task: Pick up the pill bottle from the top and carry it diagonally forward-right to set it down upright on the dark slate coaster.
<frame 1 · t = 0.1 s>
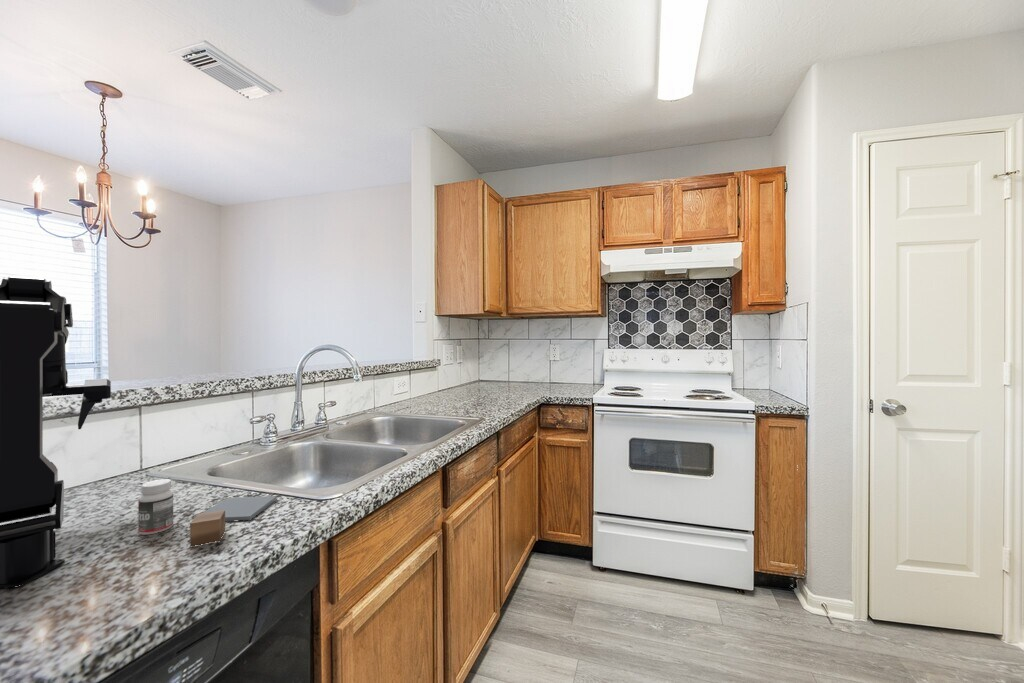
hand: (46, 432, 83), 15 cm above the counter, tool pointing down, fingers open, 9 cm apart
pill bottle: (156, 530, 73), on the counter
walnut block: (208, 540, 69), on the counter
coaster: (237, 510, 81), on the counter
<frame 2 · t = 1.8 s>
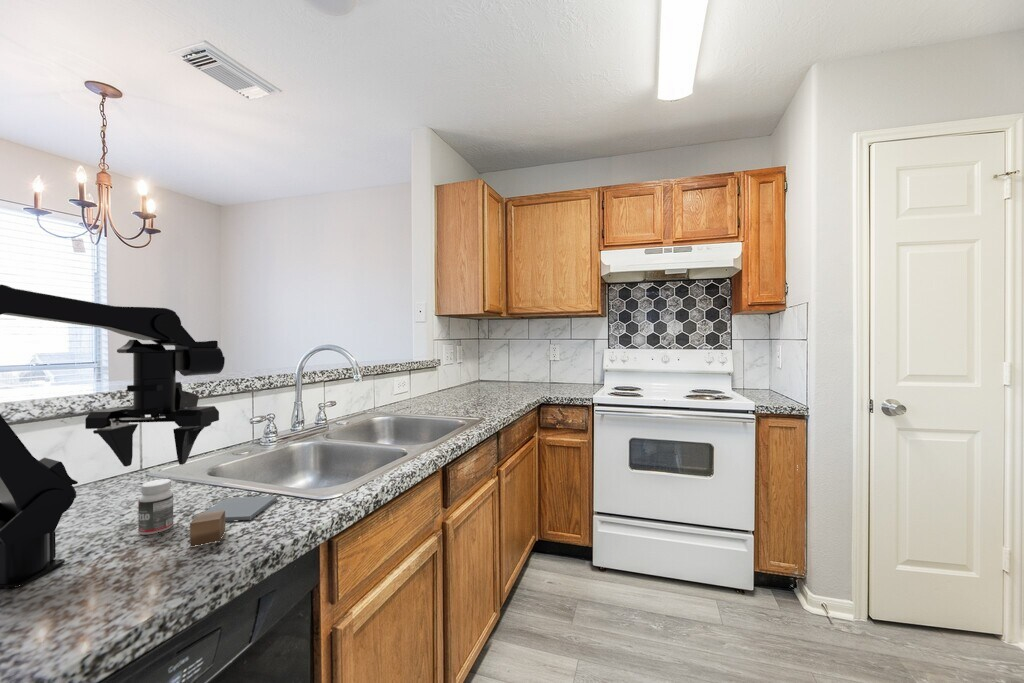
hand: (155, 465, 73), 11 cm above the counter, tool pointing down, fingers open, 9 cm apart
nothing on the counter moved.
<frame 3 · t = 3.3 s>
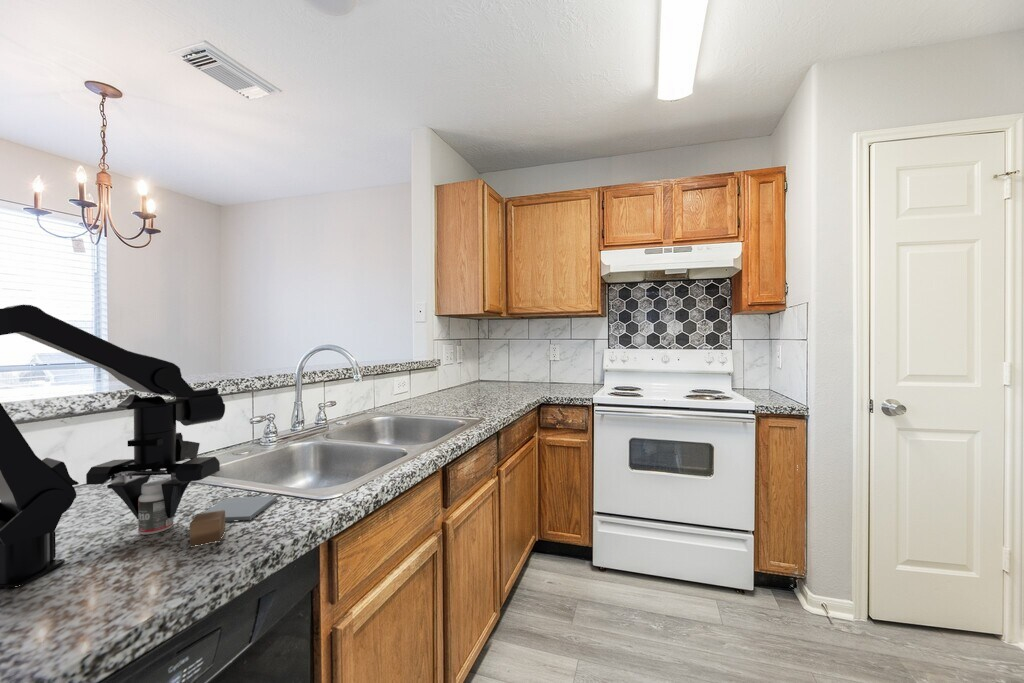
hand: (156, 517, 73), 2 cm above the counter, tool pointing down, fingers closed on pill bottle, 5 cm apart
pill bottle: (156, 530, 73), on the counter, touching gripper
everything else where it was.
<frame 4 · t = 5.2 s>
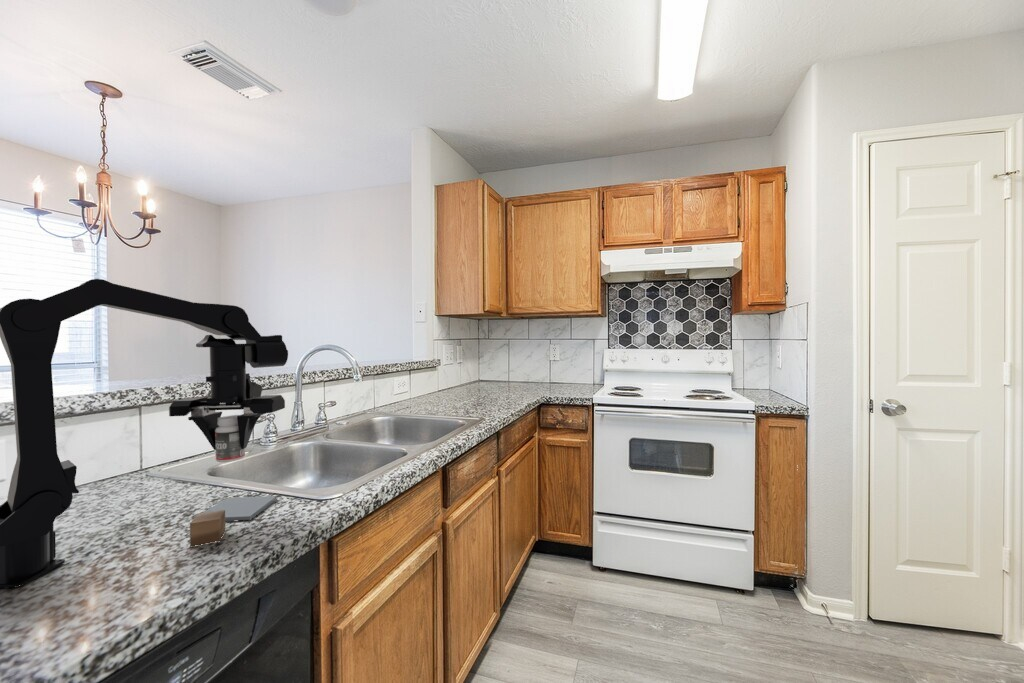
hand: (230, 448, 80), 12 cm above the counter, tool pointing down, fingers closed on pill bottle, 5 cm apart
pill bottle: (230, 460, 80), point 10 cm above the counter, touching gripper
everything else where it was.
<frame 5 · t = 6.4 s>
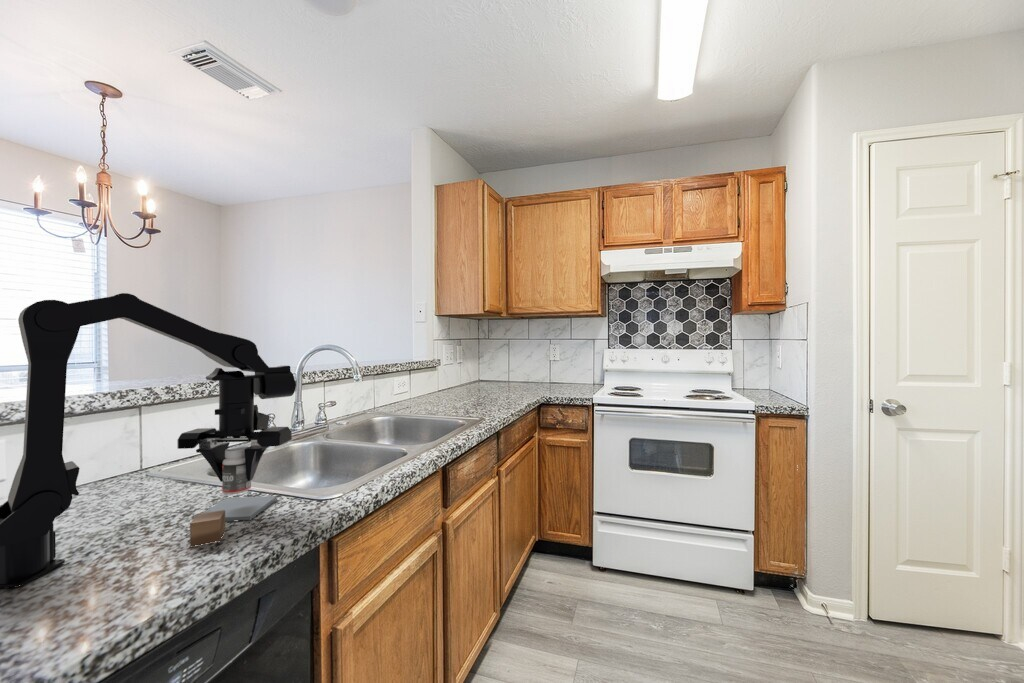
hand: (236, 480, 81), 6 cm above the counter, tool pointing down, fingers closed on pill bottle, 5 cm apart
pill bottle: (236, 491, 81), point 4 cm above the counter, touching gripper
everything else where it was.
when the fingers open (4 cm above the counter, at t = 7.1 s): pill bottle drops 2 cm, resting on coaster.
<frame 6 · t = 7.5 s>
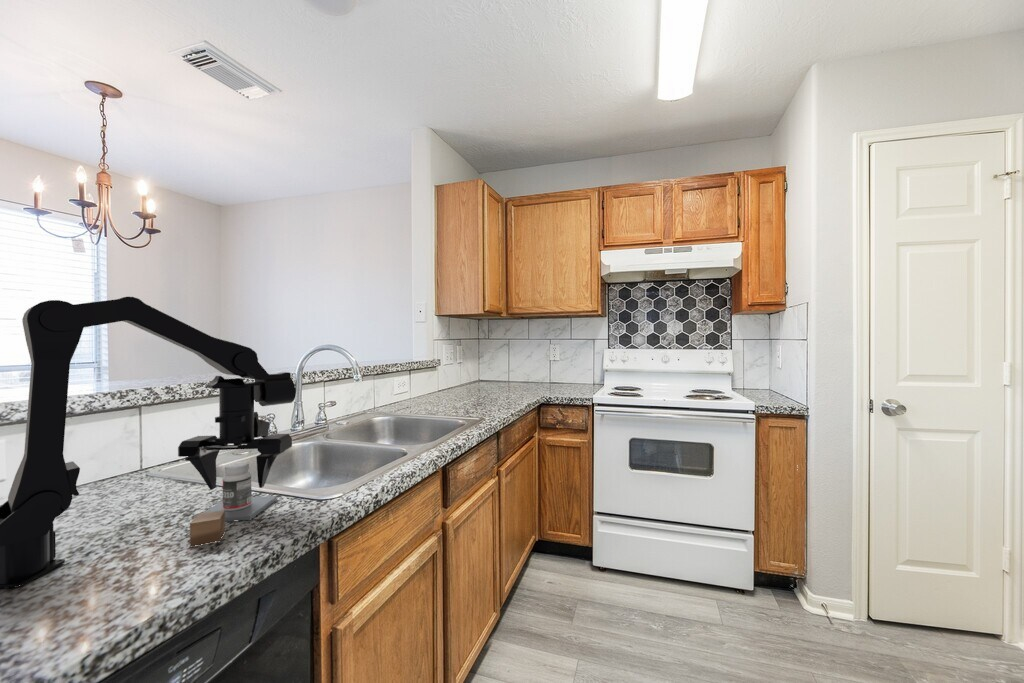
hand: (237, 488, 81), 4 cm above the counter, tool pointing down, fingers open, 9 cm apart
pill bottle: (237, 507, 81), point 1 cm above the counter, touching coaster
everything else where it was.
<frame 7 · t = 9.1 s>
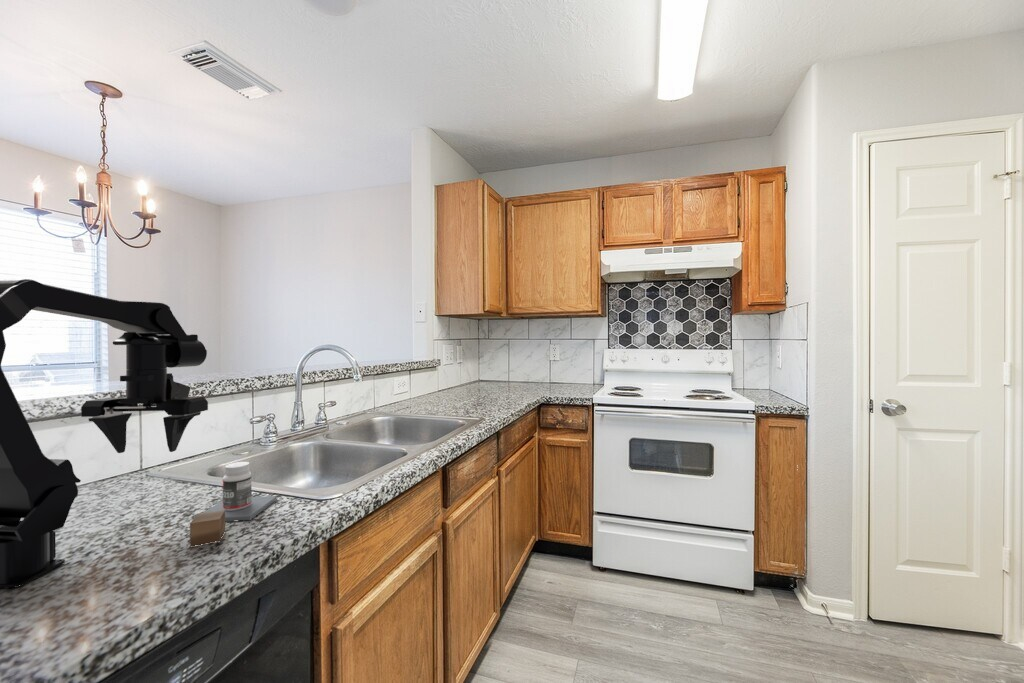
hand: (147, 452, 77), 13 cm above the counter, tool pointing down, fingers open, 9 cm apart
nothing on the counter moved.
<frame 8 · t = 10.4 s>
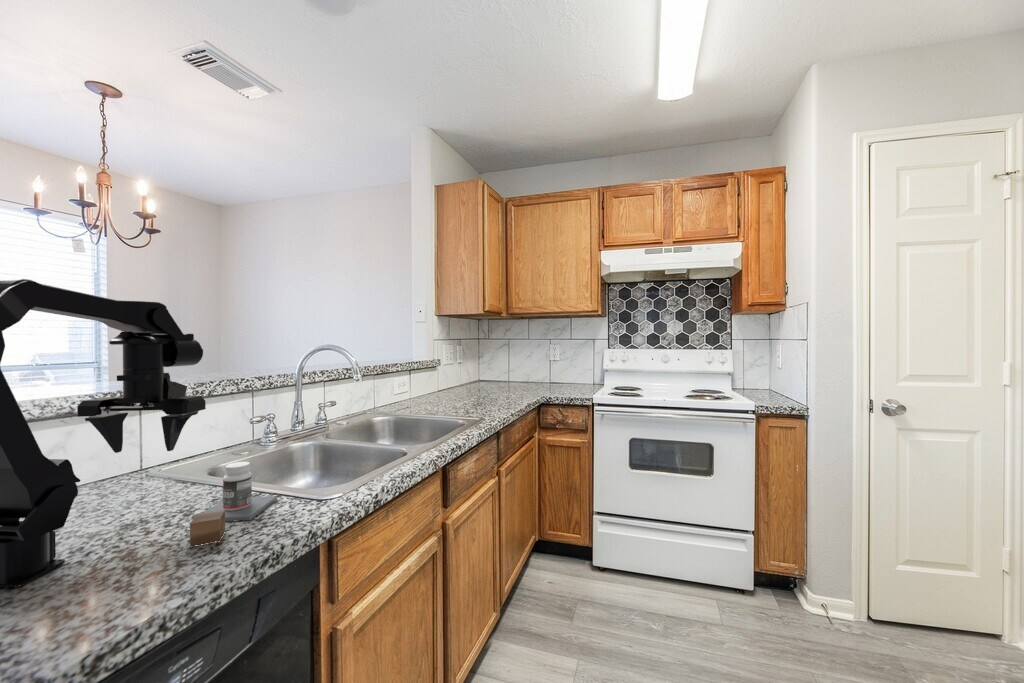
hand: (144, 451, 76), 13 cm above the counter, tool pointing down, fingers open, 9 cm apart
nothing on the counter moved.
at the end: pill bottle 0.1 cm from the coaster (horizontally); pill bottle tilted 0°; the gripper is holding nothing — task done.
